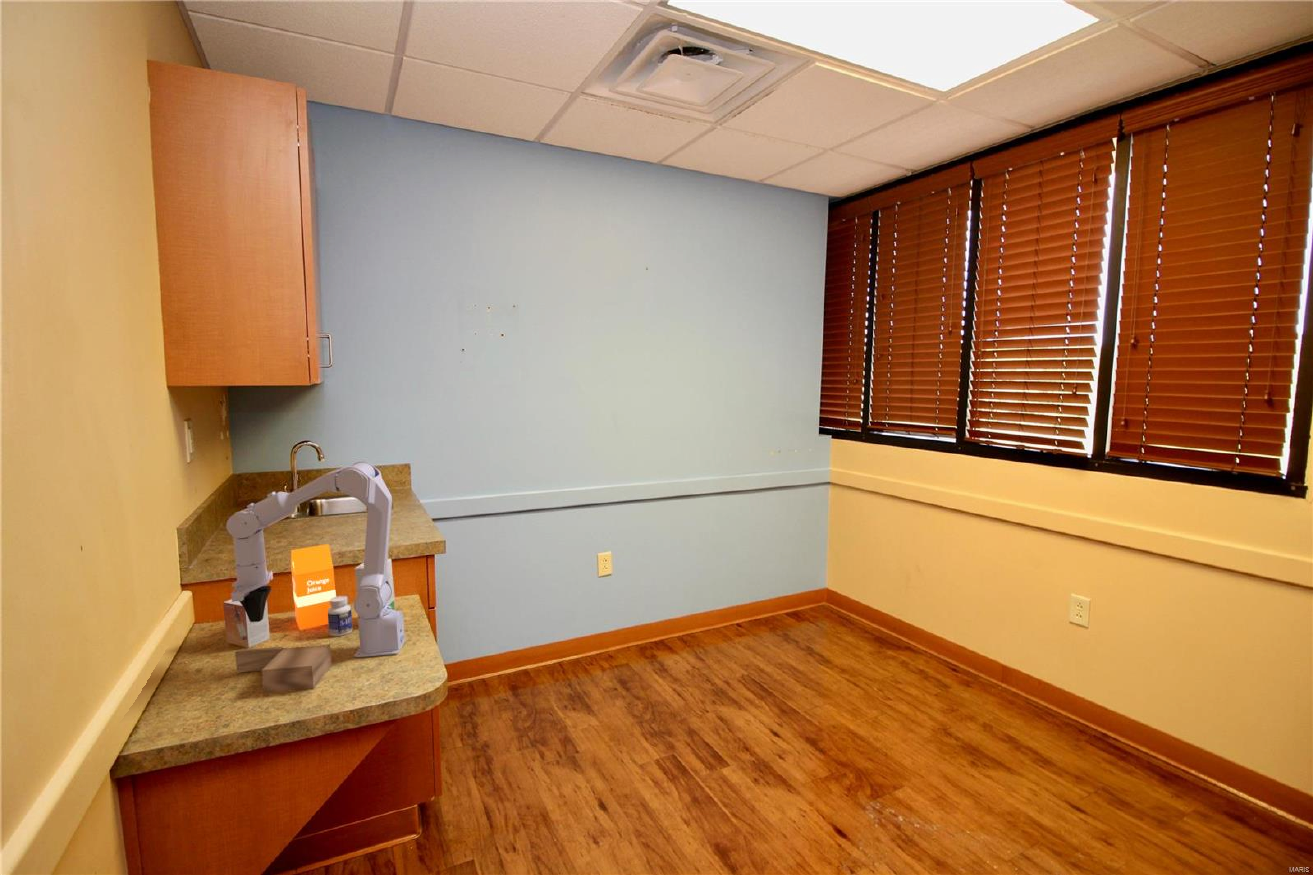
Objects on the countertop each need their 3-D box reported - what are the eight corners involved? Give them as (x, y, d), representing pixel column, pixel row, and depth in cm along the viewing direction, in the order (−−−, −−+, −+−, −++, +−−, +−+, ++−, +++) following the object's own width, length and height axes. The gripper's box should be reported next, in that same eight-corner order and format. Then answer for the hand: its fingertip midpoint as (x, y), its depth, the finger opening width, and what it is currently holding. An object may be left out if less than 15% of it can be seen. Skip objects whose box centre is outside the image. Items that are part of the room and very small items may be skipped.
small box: (226, 643, 151) (221, 602, 150) (248, 634, 156) (244, 594, 155) (248, 648, 148) (244, 606, 146) (270, 639, 153) (266, 597, 152)
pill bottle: (343, 637, 153) (340, 602, 152) (324, 636, 154) (321, 601, 153) (357, 628, 158) (354, 595, 157) (339, 627, 159) (336, 594, 158)
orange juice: (295, 620, 164) (289, 547, 162) (332, 612, 169) (326, 541, 167) (299, 630, 158) (293, 553, 155) (338, 621, 163) (332, 547, 161)
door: (286, 668, 137) (284, 648, 136) (236, 672, 135) (234, 652, 135) (288, 665, 138) (286, 645, 137) (239, 669, 136) (237, 649, 136)
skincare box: (382, 627, 158) (378, 568, 157) (357, 627, 159) (352, 568, 157) (396, 614, 167) (392, 558, 165) (372, 614, 167) (368, 558, 165)
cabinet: (331, 666, 138) (329, 644, 137) (313, 688, 128) (311, 665, 127) (285, 670, 136) (283, 648, 136) (263, 693, 126) (261, 670, 126)
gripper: (247, 554, 145) (253, 609, 147) (213, 574, 131) (219, 635, 133) (280, 552, 146) (285, 607, 148) (249, 571, 132) (255, 632, 134)
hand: (256, 620), depth 140 cm, fingers closed
